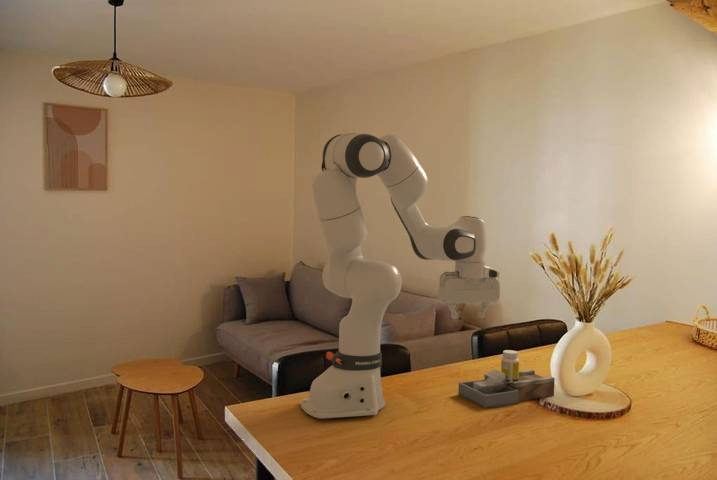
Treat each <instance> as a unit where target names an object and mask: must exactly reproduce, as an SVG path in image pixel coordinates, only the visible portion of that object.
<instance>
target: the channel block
mask: <svg viewBox="0 0 717 480" xmlns="http://www.w3.org/2000/svg"><path fill="white" fill-rule="evenodd" d="M535 371H536V370H534V369H527V370H519V381H517V382H512V384H511V383H507V386H509V387H511V388H513V389H516V390H518V391H519V402H520V401H521V402H522V401H527V400H534V399H540V397H541V398H545V397H544V396H548V397H553V396H555V377H553V376H548V377H544V376H541V375H538V374H536V372H535Z"/></svg>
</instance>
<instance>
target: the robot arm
mask: <svg viewBox="0 0 717 480" xmlns="http://www.w3.org/2000/svg"><path fill="white" fill-rule="evenodd" d="M376 175H377V176H378V178H379V179H380V180H381V182H382V184H383V185H384V187H385V188H386V189H387V191H388V193H389V195H390V201H391V204H392V207H393V209H394V211H395V212H396V214H397V216H398V218H399V219H400V223H402V226H403V227H404V229H405V230H406V233H407V234H408V236H409V240H410V243H411V247H412V250H413V252H414V254H415V255H416V256H417V257H418V258H419V259H422V260H429V261H430V260H437V261H448V262H449V261H450V262H454V261H455V262H454V271H444V272H443V273H442V274H441V275H440V276H439V286H438V290H437V300H438V302H439V303H440V304H443V305H447V307H448V309H449V311H450V312H451V313H450V314H451V315H450V317H451V319H452V320H458V319H460V317H459V315H460V312H457V310H456V308H457V305H458V304H459V305H460V304H477V303H479V304H480V305H481V307H480V310H478V311H477V317H478V318H480V319H481V318H485V317H486V312H487V310H488V308H489V307H490V303H497V302H499V299H500V297H501V283H500V280H499V279H498V278H500V271H499V270H497V269H495V268H492V267H489V266H486V264H487V262H486V257H485V253H486V249H487V228H486V223H485V221H484V220H483V219H481V218H479V217H477V216H470V215H469V216H468V215H462V216H460V217H459V218H458V219H457V221H456V222H454V223H453V224H451V225H448V226H443V227H442V226H433V225H431V224H428V223H427V222H426V221H425V218H424V216H423V215H422V213H421V211H420V208H419V207H418V205H417V202H418V201H419V200H420V199H421V198H422V197H423V196H424V195H425V193H426V191H427V189H428V184H429V179H428V175H427V174H426V171H425V169H424V167H423V166H422V165H421V163H420V161H419V159H418V158H417V157H416V156H415V154H414V153H413V152H412V150H411V149H410V148H409V147H408V146H407V144H405V142H404V141H403V140H402V139H401V138H400V137H398V136H396V135H395V134H385V135H383V136H381V137H379V138H378V137H377V136H375V135H373V134H369V133H356V132H349V133H348V132H347V133H343V134H337V135H335V136H333V137H331V138H329V139H328V141H326V143H325V144H324V146H323V149H322V162H321V172H320V173H318V174H317V175H316V176H315V177H314V178H313V180H312V185H311V186H312V195H313V201H314V205H315V209H316V214H317V216H318V220H319V222H320V227H321V229H322V232H323V236H324V239H325V243H326V248H327V263H326V264H325V266H324V268H323V269H322V270H323V271H322V276H321V277H322V284H323V286H324V287H325V288H326V290H328V291H329V292H330V293H333V294H335V295H337V296H338V297H341V298H346V299H351V306H350V310H349V311H348V314H347V315H345V316H344V317H343V318H341V320H340V321H339V325H338V326H339V329H338V330H339V331H338V350H337V351H336V352H335V353H333V352H332V351H327V352H326V353H325V354H326V355H325V358H326V359H327V360H329V361H331V366H329V367H328V368H327V369H326V370H325V371H324V372H322V373H321V374H320V375H319V376H317V377H316V378H315V379H314V380H313V381H312V383H311V385H310V389H309V395H308V397H307V396H306V397H304V398H302V399H301V400H300V407H301V409H302V410H303V411H304V412H305V413H306V414H308V415H310V416H311V417H314V418H317V419H334V418H346V417H347V418H350V417H363V416H374V415H377V414H378V412H379V411H380V410H381V409H383V408H385V406H386V400H385V398H384V394H383V388H382V386H383V385H382V378H381V377H382V376H381V372H382V364H383V363H382V360H383V359H382V358H383V357H382V351H381V336H382V335H381V334H382V333H381V332H382V324H383V323H382V322H383V319H384V315H385V313H386V311H387V309H388V308H389V307H388V306H389V305H390V304H391V303H392V302H393V301H394V300H396V298H397V297H398V296H399V294H400V292H401V290H402V287H403V280H402V279H403V278H402V274H401V272H400V270H399V268H397V267H396V265H395V266H394V265H392V264H390V263H388V262H385V261H382V260H378V259H377V260H375V259H367V258H365V257H364V255H363V253H362V252H363V250H362V245H363V243H364V242H365V241H366V239H367V237H368V234H369V231H368V228H367V224H366V221H365V218H364V215H363V214H364V213H363V210H362V209H361V205H360V201H359V198H358V197H357V189H356V188H357V180H358V179H359V178H361V179H366V178H370V177H374V176H376Z"/></svg>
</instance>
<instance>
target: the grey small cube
mask: <svg viewBox="0 0 717 480" xmlns="http://www.w3.org/2000/svg"><path fill="white" fill-rule="evenodd" d="M483 377H484V379H485V381H487V382H489V383H491V384H494V391H495V392H497V391H499V390H501V389H503V388H505V387H507V383H506V378H505V373H503V372H501V370H498V369H495V368H494V369H493V370H490V371H488V372H486V373H484V374H483Z"/></svg>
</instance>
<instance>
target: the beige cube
mask: <svg viewBox="0 0 717 480" xmlns="http://www.w3.org/2000/svg"><path fill="white" fill-rule="evenodd" d="M473 389H475V390H477V391H479V392H481V393H483V394H485V395H488V394H494V384H491V383H489V382H487V381H480V382H473Z"/></svg>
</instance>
